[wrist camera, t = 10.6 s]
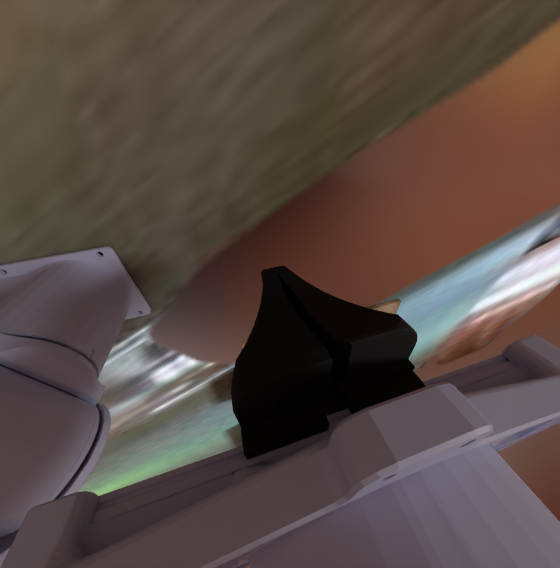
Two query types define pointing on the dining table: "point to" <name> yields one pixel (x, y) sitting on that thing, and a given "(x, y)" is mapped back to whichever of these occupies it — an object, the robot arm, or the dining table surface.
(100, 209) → the dining table surface
